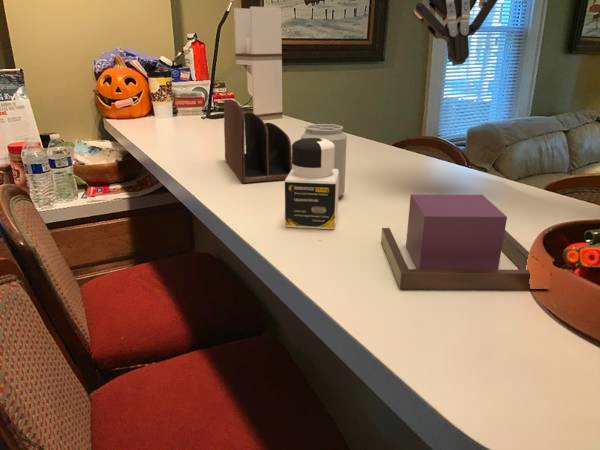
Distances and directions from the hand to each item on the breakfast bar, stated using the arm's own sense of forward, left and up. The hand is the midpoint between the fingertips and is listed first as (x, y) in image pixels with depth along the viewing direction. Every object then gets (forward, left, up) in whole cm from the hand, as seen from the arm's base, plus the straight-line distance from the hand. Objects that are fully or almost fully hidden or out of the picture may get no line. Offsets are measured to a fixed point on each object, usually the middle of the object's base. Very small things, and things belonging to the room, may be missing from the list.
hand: (459, 63), depth 73 cm
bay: (+6, +26, -22) cm, 34 cm away
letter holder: (+34, -18, -22) cm, 44 cm away
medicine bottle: (+23, +11, -22) cm, 33 cm away
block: (+6, +24, -22) cm, 33 cm away
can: (+21, -1, -22) cm, 30 cm away
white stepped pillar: (+39, -90, -22) cm, 101 cm away
